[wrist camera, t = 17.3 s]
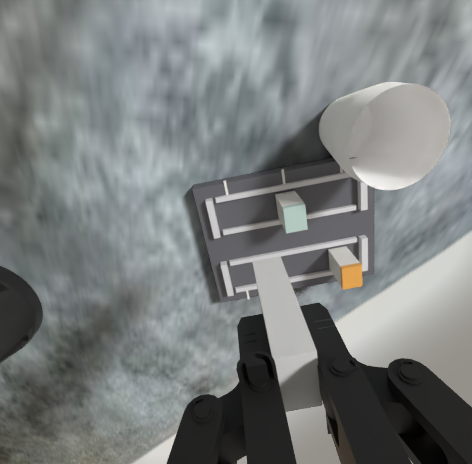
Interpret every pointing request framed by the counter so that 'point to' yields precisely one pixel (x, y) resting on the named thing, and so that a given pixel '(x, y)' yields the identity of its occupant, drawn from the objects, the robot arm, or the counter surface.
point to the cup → (387, 133)
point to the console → (272, 232)
